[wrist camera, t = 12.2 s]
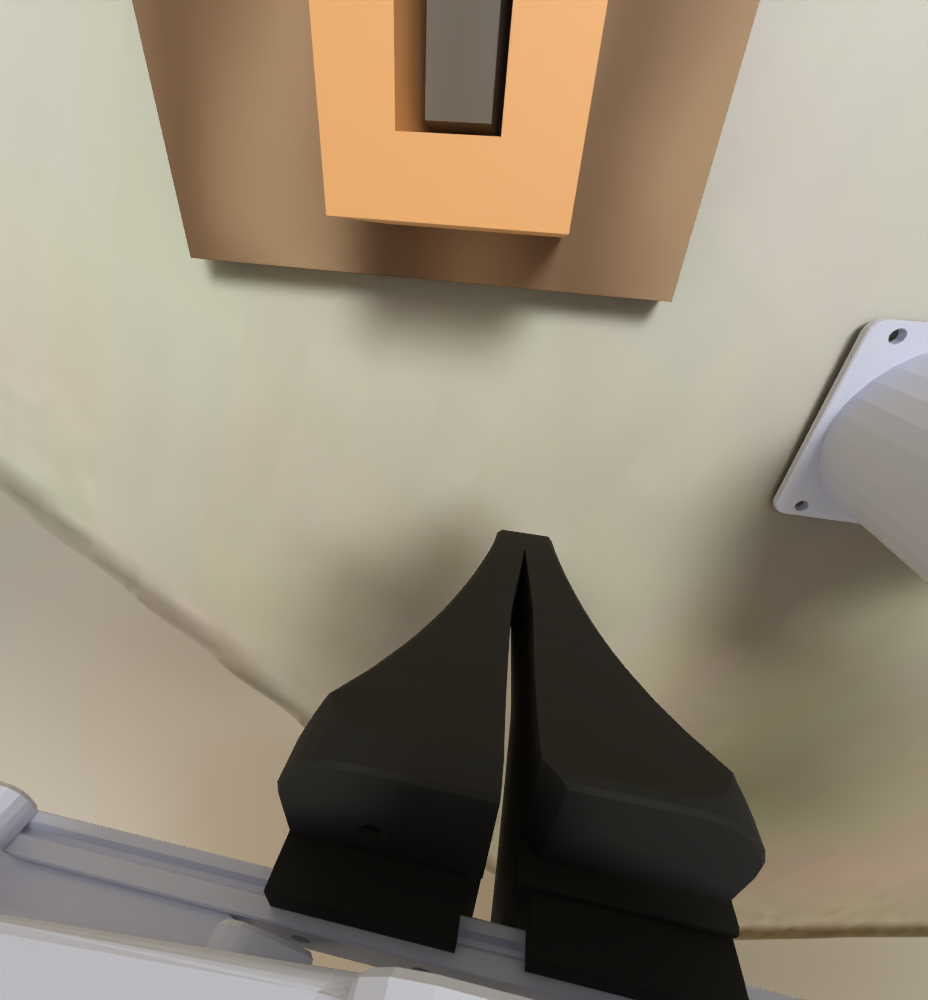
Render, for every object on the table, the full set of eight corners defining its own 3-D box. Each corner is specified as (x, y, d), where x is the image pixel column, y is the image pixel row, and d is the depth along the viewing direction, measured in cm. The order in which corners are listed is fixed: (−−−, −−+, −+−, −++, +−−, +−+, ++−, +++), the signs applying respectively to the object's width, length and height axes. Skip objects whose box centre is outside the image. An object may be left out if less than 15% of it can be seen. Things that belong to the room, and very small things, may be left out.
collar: (637, -230, 10) (708, -602, 5) (562, 237, 14) (569, 234, 10) (380, -222, 10) (263, -551, 6) (388, 224, 15) (326, 215, 11)
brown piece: (783, -137, 11) (963, -427, 6) (661, 297, 16) (708, 318, 11) (137, -131, 13) (-100, -349, 8) (216, 256, 18) (99, 260, 13)
